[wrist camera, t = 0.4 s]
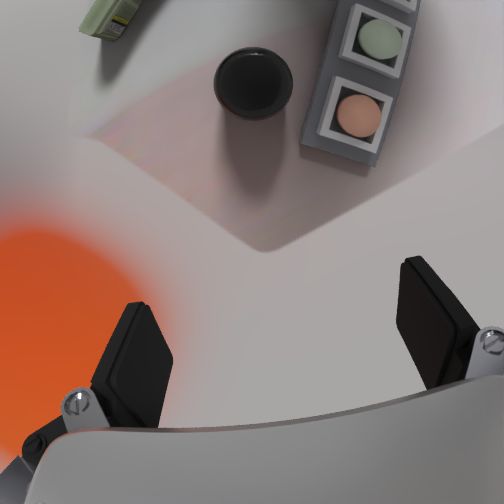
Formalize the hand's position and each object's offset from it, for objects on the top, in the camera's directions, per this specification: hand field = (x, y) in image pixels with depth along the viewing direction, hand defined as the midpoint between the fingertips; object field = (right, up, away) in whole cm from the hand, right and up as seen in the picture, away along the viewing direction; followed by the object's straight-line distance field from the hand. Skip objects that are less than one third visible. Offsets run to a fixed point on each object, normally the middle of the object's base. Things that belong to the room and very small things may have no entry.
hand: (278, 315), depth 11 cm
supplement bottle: (-1, +21, +21) cm, 29 cm away
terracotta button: (+10, +17, +19) cm, 27 cm away
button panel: (+12, +26, +17) cm, 33 cm away
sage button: (+12, +24, +15) cm, 31 cm away
